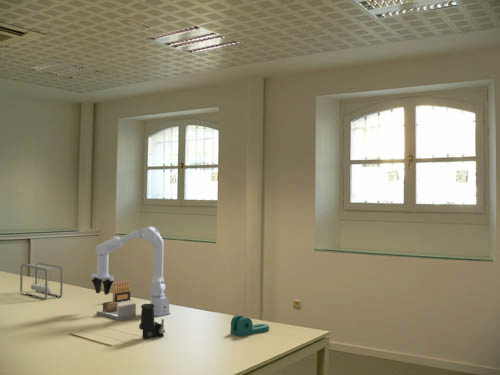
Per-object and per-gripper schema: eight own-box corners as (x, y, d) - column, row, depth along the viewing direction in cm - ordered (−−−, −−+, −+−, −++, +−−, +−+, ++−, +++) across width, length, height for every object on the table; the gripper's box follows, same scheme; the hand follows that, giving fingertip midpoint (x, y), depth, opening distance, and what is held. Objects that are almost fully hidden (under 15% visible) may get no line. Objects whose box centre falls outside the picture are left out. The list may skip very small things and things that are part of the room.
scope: (165, 304, 225) (145, 308, 218) (165, 337, 225) (145, 341, 217) (154, 301, 230) (134, 304, 223) (153, 333, 230) (134, 337, 223)
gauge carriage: (117, 310, 266) (117, 301, 266) (106, 312, 261) (106, 303, 261) (111, 309, 269) (111, 300, 269) (100, 311, 264) (100, 302, 264)
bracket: (240, 337, 226) (240, 318, 226) (230, 334, 232) (230, 315, 232) (272, 330, 237) (272, 313, 238) (262, 327, 243) (262, 310, 243)
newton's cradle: (19, 293, 317) (20, 263, 317) (36, 291, 325) (36, 262, 325) (45, 300, 298) (46, 268, 298) (62, 297, 306) (63, 267, 306)
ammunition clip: (114, 303, 293) (114, 281, 293) (112, 302, 294) (112, 280, 294) (130, 300, 301) (130, 279, 301) (128, 299, 302) (128, 278, 302)
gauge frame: (136, 317, 259) (136, 304, 259) (120, 320, 252) (121, 307, 252) (111, 311, 272) (112, 298, 272) (96, 314, 265) (96, 301, 265)
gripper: (118, 267, 270) (118, 294, 269) (99, 264, 278) (98, 290, 277) (107, 268, 264) (107, 296, 264) (88, 266, 272) (88, 292, 272)
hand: (102, 293), depth 270 cm, fingers open, 6 cm apart
